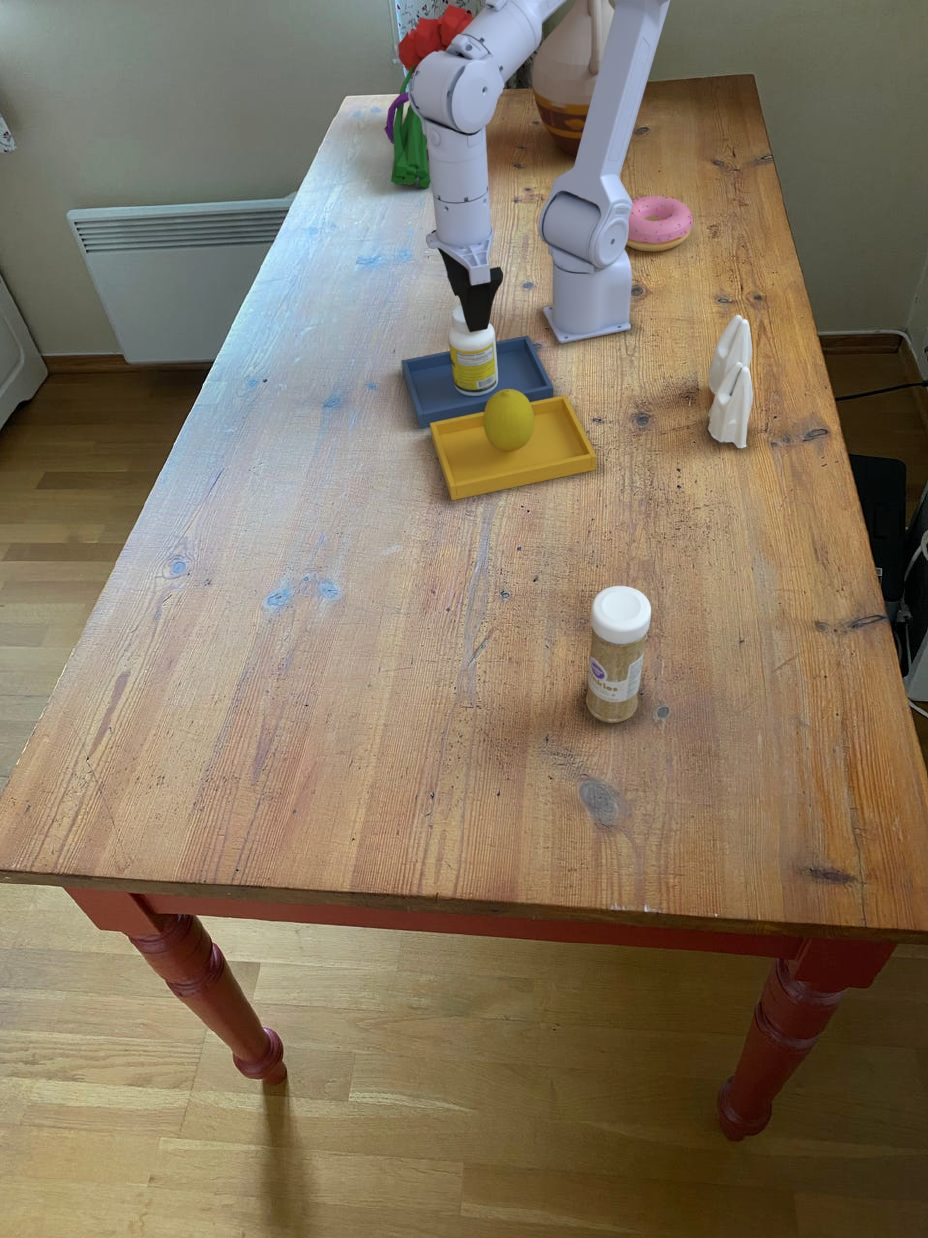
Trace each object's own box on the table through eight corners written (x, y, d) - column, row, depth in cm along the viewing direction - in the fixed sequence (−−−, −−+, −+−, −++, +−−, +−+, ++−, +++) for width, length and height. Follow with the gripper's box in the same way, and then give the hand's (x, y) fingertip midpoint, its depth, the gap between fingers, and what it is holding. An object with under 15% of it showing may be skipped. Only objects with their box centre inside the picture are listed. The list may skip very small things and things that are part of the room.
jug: (649, 173, 139) (669, -61, 116) (535, 181, 140) (532, -49, 117) (636, 119, 151) (651, -102, 128) (531, 127, 153) (527, -90, 129)
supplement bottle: (461, 368, 110) (454, 296, 102) (503, 373, 109) (499, 300, 101) (448, 394, 107) (440, 322, 99) (491, 400, 105) (486, 327, 98)
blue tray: (528, 348, 112) (528, 334, 111) (553, 401, 105) (553, 387, 104) (403, 373, 111) (401, 360, 109) (420, 428, 104) (418, 414, 102)
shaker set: (705, 380, 105) (719, 296, 97) (742, 381, 105) (759, 296, 96) (707, 447, 98) (722, 362, 90) (746, 448, 97) (765, 362, 89)
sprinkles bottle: (575, 707, 78) (579, 610, 68) (605, 673, 80) (613, 574, 70) (619, 734, 76) (630, 638, 66) (648, 699, 78) (663, 600, 68)
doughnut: (669, 211, 131) (672, 182, 128) (705, 245, 124) (709, 216, 121) (601, 228, 130) (602, 199, 126) (633, 263, 123) (636, 234, 120)
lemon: (530, 467, 97) (529, 408, 91) (481, 464, 98) (476, 405, 92) (538, 435, 101) (537, 376, 95) (490, 432, 102) (486, 373, 96)
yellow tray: (566, 408, 104) (566, 394, 103) (595, 469, 97) (596, 455, 96) (431, 436, 103) (429, 422, 101) (451, 500, 96) (450, 486, 94)
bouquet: (374, 225, 148) (412, 109, 161) (470, 228, 145) (501, 109, 157) (345, 113, 131) (391, -8, 143) (454, 114, 127) (491, -10, 140)
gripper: (408, 165, 94) (423, 284, 104) (436, 230, 85) (449, 353, 95) (473, 154, 94) (481, 272, 105) (507, 217, 85) (512, 340, 96)
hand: (470, 310), depth 100 cm, fingers open, 7 cm apart
